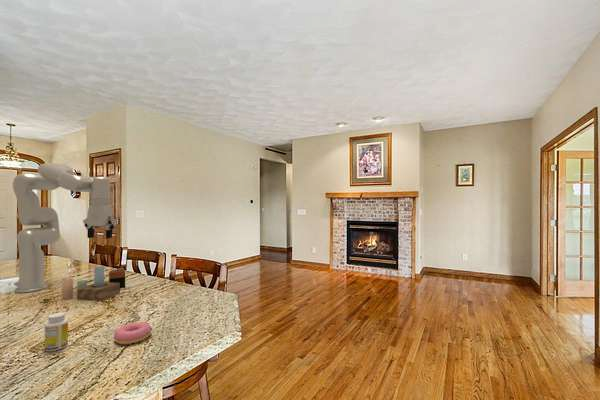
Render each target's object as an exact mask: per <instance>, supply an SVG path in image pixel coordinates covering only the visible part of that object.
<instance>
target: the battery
mask: <svg viewBox="0 0 600 400" xmlns="http://www.w3.org/2000/svg"><path fill="white" fill-rule="evenodd" d="M108 282H110V283H120V289H123V288H125V287H126V270H125V269H124V268H123V267H119V268H118V269H111V270H109V271H108Z"/></svg>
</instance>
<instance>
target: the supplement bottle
mask: <svg viewBox="0 0 600 400" xmlns="http://www.w3.org/2000/svg"><path fill="white" fill-rule="evenodd" d="M68 343H69V320H68V318H66V313H65V312H55V313H52V314H50V315H48V317H47V322H46V323H45V324H44V350H45V351H46V352H56V350H57V351H59V349H60V350H62V349H64V348H66V347H67V346H68Z"/></svg>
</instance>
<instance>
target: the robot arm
mask: <svg viewBox="0 0 600 400" xmlns="http://www.w3.org/2000/svg"><path fill="white" fill-rule="evenodd" d="M60 187H61V188H62V189H65V190H68V191H70V192H77V193H78V192H79V193H82V192H83V193H90V200H89V203H90V204H89V206H88V210H87V214H86V218H85V219H83V220H82V222H83V225H84V226H83V227H85V229H86V230H87V238H88V239H92V238H94V237H95V227H105V229H106V230H105V239H112V238H113V230H114V229H115V228H116V226H117V224H118V220H117V219H116V218H115V219H114V217H113V212H112V211H113V210H112V206H111V201H110V200H111V180H110V178H109V177H105V176H83V175H76V174H75V172H74V170H73V168H72V167H71V166H70V165H67V164H62V163H53V162H45V163H42V164H40V165H38V167H37V173H35V172H23V173H19V174H17V175H16V176H15V177H14V178H13V182H12V189H13V193H14V195H15V199H16V201H17V202H16V203H17V211H18V220H19V223H20V224H21V225H23V226H26V227H27V226H42V227H31V228H29V227H28V228H24V229H22V230H20V231H19V232H18V233H17V235H16V241H17V245H18V252H19V253H18V254H19V255H18V265H19V266H18V280H17V281H16V282H14V283H13V285H14V286H16V288H14V293H19V294H20V293H24V294H25V293H31V292H37V291H41V290H45V289H47V288H48V286H49V285H48V284H47V283H45V252H44V251H43V250H42V249H41V246H47V245H54V244H56V243H57V242H58V241H60V240H59V239H60V236H61V233H60V230H61V229H60V223H59V222H60V220H59V215H58V213H57V211H56V210H55V209H54V208H53V207H49V206H48V207H47V206H44V207H43V206H41V202H40V198H39V196H38V194H37V193H35V191H37V190H38V191H55V190H56V189H58V188H60ZM34 190H35V191H34Z"/></svg>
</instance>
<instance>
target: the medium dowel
mask: <svg viewBox="0 0 600 400" xmlns="http://www.w3.org/2000/svg"><path fill="white" fill-rule="evenodd" d="M61 281H62V284H61V300H63V301H64V300H65V301H66V300H72V299H74V278H73V277H67V278H63V279H61Z"/></svg>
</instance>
